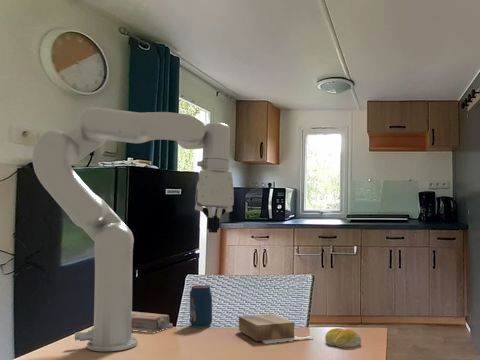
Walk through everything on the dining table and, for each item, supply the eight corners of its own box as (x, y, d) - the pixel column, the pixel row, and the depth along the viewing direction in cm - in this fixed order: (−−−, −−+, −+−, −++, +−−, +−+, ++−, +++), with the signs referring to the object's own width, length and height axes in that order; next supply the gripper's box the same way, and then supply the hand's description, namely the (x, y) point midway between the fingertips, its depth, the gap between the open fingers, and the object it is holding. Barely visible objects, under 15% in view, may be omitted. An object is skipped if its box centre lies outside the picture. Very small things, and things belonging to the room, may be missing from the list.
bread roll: (337, 338, 125) (336, 323, 125) (365, 344, 118) (365, 328, 118) (318, 344, 119) (317, 328, 120) (346, 350, 113) (346, 333, 113)
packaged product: (174, 312, 142) (155, 318, 133) (173, 328, 141) (154, 335, 132) (127, 308, 150) (106, 314, 141) (127, 324, 149) (106, 330, 140)
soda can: (214, 323, 145) (214, 285, 147) (208, 328, 139) (208, 288, 140) (194, 323, 147) (194, 285, 148) (186, 327, 140) (186, 287, 142)
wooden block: (256, 325, 121) (294, 322, 125) (238, 316, 134) (273, 313, 138) (257, 341, 120) (294, 337, 124) (238, 330, 134) (273, 327, 137)
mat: (265, 343, 119) (265, 342, 119) (241, 330, 136) (241, 328, 136) (313, 339, 124) (313, 337, 124) (284, 326, 141) (284, 325, 141)
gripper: (193, 163, 123) (189, 231, 121) (244, 167, 128) (242, 233, 126) (186, 166, 130) (183, 231, 128) (235, 170, 135) (233, 233, 133)
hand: (212, 232), depth 127 cm, fingers closed
